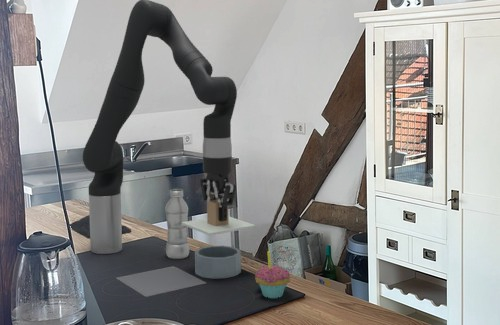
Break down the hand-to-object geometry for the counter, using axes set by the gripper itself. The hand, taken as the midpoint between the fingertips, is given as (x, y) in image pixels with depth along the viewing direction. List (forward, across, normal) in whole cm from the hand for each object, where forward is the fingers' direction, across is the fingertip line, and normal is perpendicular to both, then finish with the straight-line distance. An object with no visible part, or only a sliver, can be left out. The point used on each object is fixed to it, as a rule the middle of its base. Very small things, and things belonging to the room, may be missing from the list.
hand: (217, 219), depth 171 cm
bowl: (+15, 0, 0) cm, 15 cm away
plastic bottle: (+15, +18, +2) cm, 24 cm away
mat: (+15, +2, +16) cm, 22 cm away
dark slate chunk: (+15, +63, +7) cm, 65 cm away
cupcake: (+15, -21, -2) cm, 26 cm away
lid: (+2, 0, 0) cm, 2 cm away
